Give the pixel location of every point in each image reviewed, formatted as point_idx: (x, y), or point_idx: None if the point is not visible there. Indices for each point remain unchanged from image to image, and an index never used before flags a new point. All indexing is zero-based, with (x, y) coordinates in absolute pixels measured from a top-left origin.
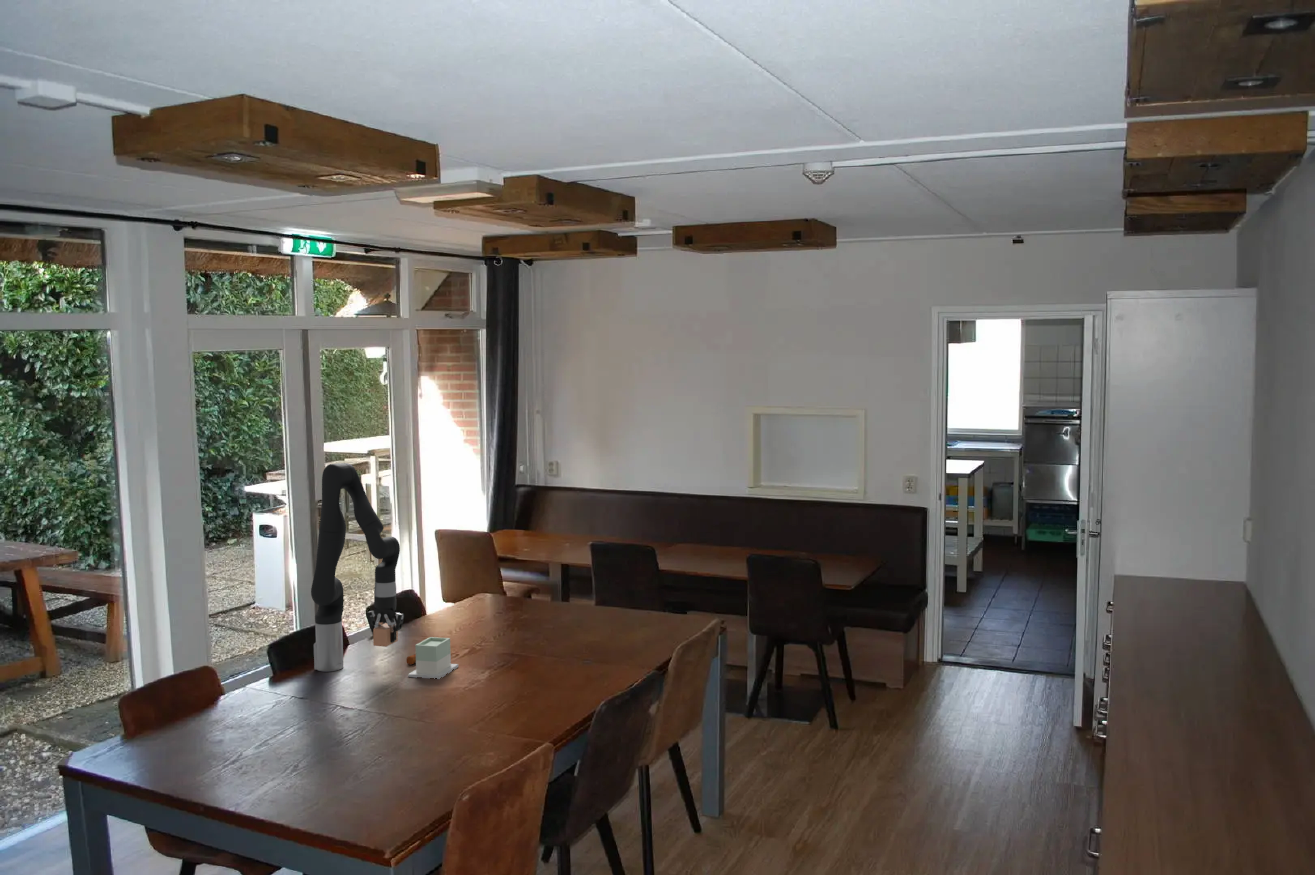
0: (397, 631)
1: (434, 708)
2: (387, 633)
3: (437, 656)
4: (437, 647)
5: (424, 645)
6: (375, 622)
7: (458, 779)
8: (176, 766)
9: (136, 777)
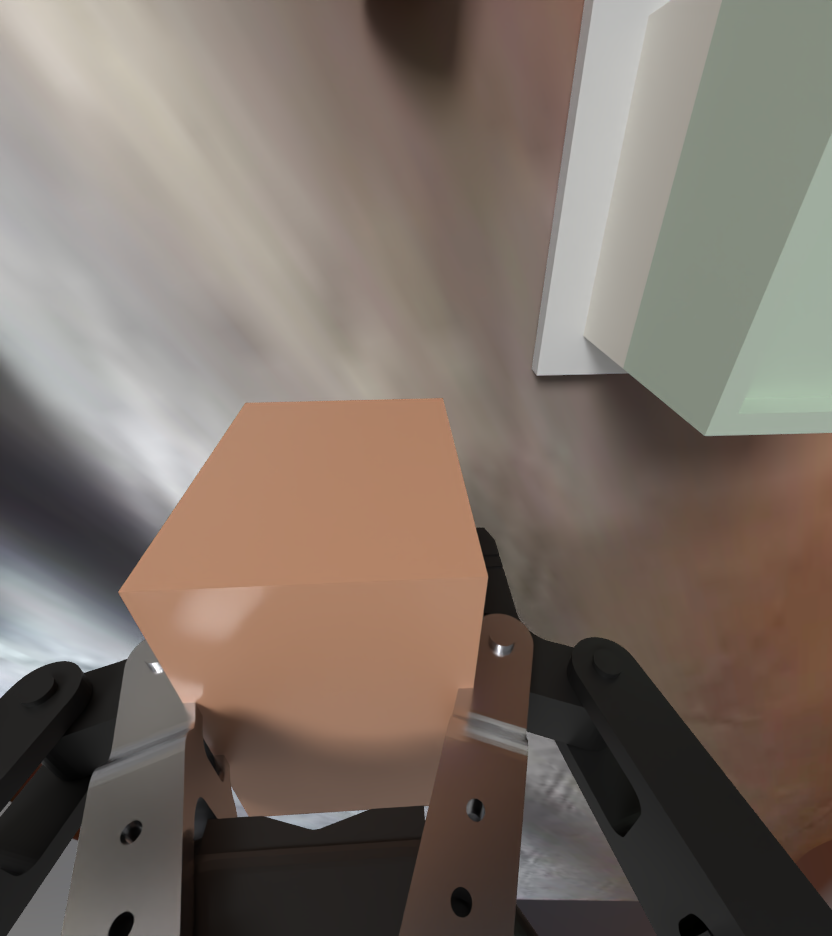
0: (461, 483)
1: (753, 659)
2: None
3: None
4: None
5: (824, 427)
6: (15, 766)
7: (819, 836)
8: None
9: None
